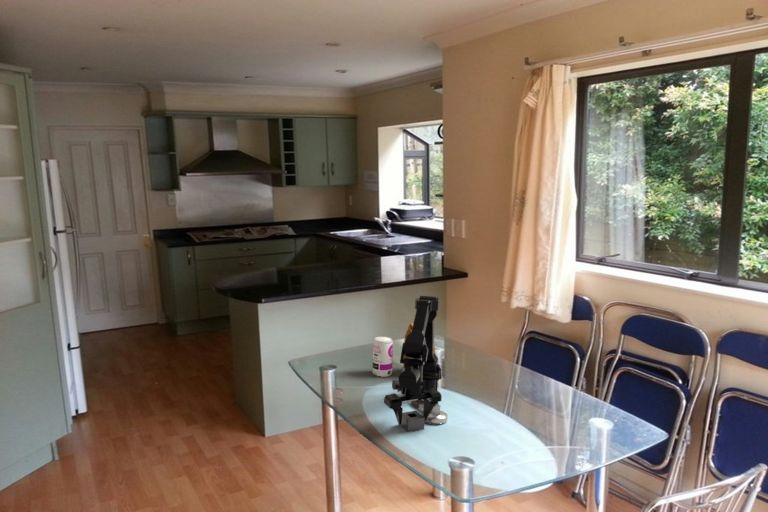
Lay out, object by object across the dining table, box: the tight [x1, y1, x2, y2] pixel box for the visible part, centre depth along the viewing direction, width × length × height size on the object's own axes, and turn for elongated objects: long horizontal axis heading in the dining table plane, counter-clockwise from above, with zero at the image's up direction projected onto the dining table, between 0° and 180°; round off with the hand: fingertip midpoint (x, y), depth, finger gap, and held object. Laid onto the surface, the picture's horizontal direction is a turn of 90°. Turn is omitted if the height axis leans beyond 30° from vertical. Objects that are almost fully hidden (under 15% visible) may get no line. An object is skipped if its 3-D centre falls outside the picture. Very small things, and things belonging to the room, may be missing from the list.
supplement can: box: [372, 336, 394, 378], centre depth 243 cm, size 8×8×15 cm
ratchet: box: [410, 399, 448, 425], centre depth 206 cm, size 8×20×6 cm, turn 24°
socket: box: [400, 410, 426, 433], centre depth 195 cm, size 6×6×4 cm
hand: (412, 422), depth 195 cm, fingers open, 9 cm apart
